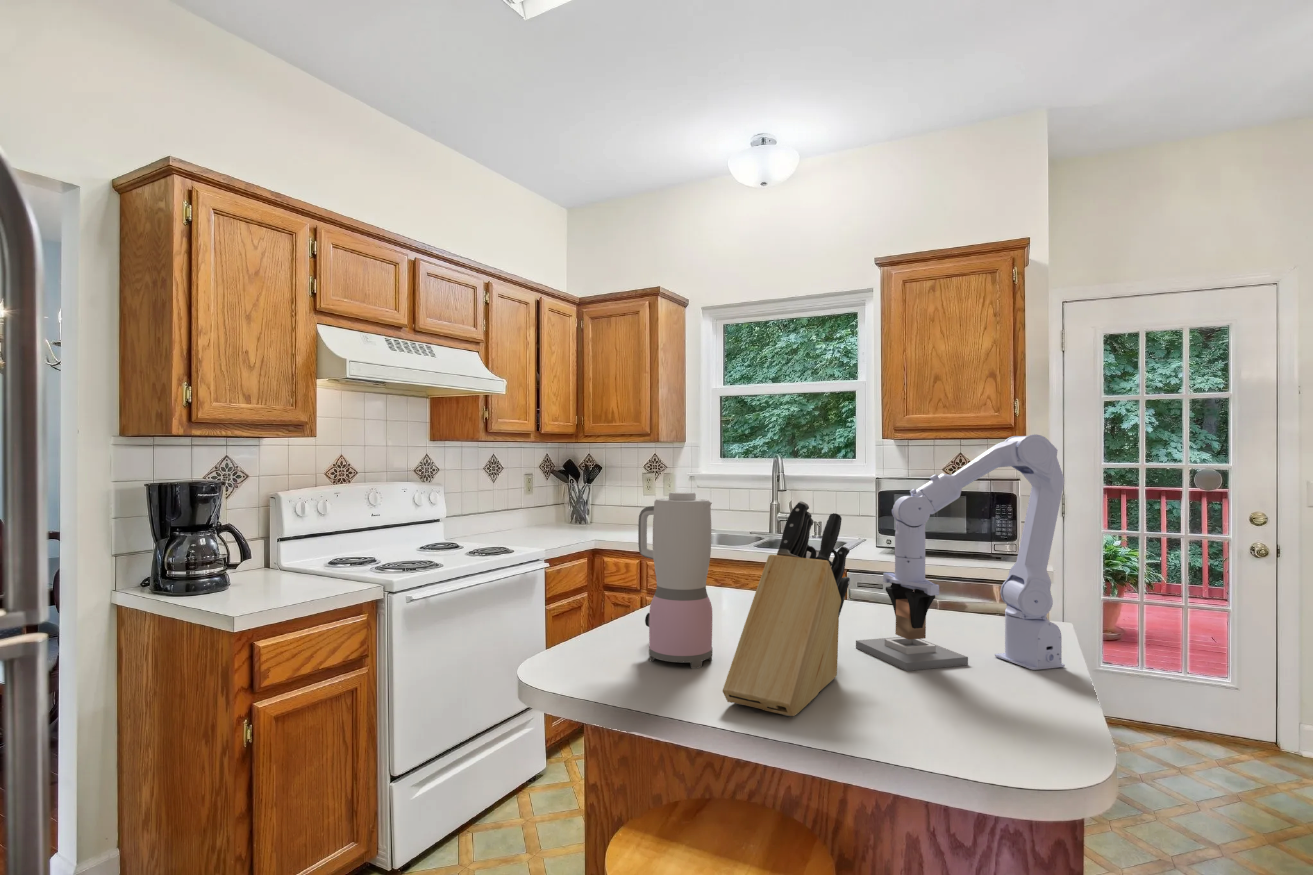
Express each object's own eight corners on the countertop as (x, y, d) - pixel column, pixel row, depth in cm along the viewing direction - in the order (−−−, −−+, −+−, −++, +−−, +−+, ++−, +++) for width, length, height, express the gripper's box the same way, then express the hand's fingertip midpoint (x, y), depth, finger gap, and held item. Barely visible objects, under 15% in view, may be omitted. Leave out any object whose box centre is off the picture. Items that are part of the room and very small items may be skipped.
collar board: (967, 664, 131) (968, 650, 131) (906, 670, 127) (906, 656, 127) (912, 642, 147) (912, 630, 147) (855, 647, 142) (855, 634, 142)
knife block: (853, 664, 130) (854, 501, 131) (790, 726, 100) (792, 512, 101) (796, 655, 136) (797, 498, 137) (720, 710, 106) (722, 509, 107)
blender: (722, 656, 135) (724, 492, 136) (697, 673, 124) (699, 495, 125) (651, 645, 142) (653, 489, 143) (621, 660, 131) (624, 492, 132)
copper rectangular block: (925, 638, 136) (926, 602, 136) (908, 639, 134) (909, 603, 135) (912, 633, 140) (912, 598, 140) (895, 634, 138) (896, 599, 139)
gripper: (870, 552, 143) (870, 617, 143) (917, 562, 129) (917, 635, 129) (899, 551, 145) (899, 615, 145) (948, 561, 131) (948, 633, 131)
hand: (909, 625), depth 137 cm, fingers closed on copper rectangular block, 4 cm apart
